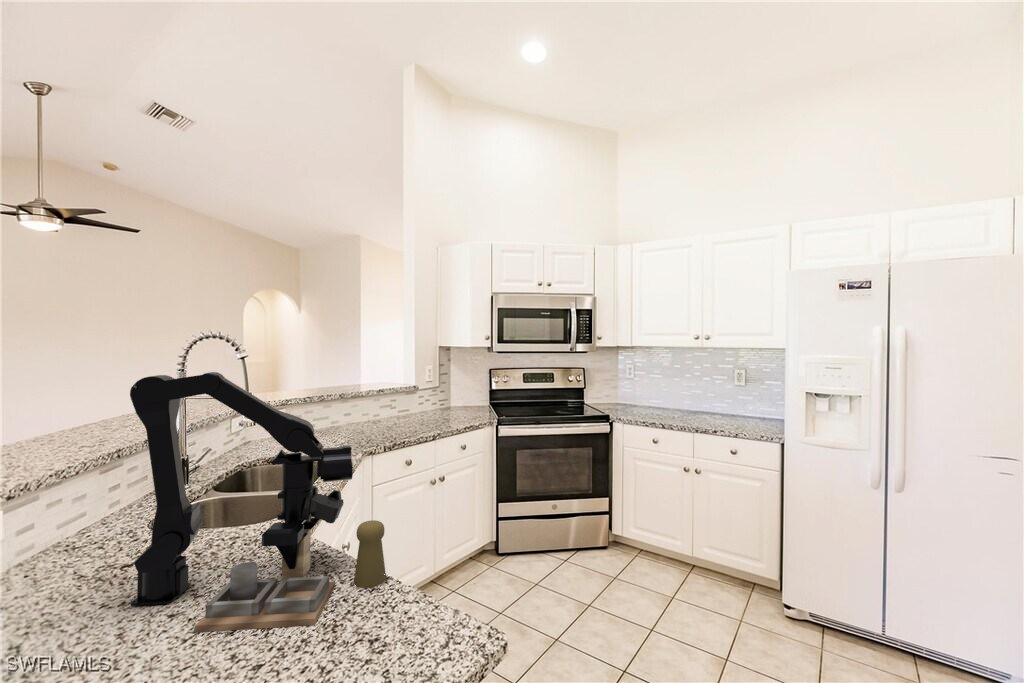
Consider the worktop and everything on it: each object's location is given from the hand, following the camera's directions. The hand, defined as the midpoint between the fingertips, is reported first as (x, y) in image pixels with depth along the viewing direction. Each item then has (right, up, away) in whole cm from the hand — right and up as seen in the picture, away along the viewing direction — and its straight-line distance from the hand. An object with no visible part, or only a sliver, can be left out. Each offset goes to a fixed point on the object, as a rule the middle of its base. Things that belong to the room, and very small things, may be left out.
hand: (296, 563), depth 90 cm
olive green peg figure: (+15, -2, -2) cm, 16 cm away
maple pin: (0, -2, 0) cm, 2 cm away
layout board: (+1, -2, -12) cm, 12 cm away
